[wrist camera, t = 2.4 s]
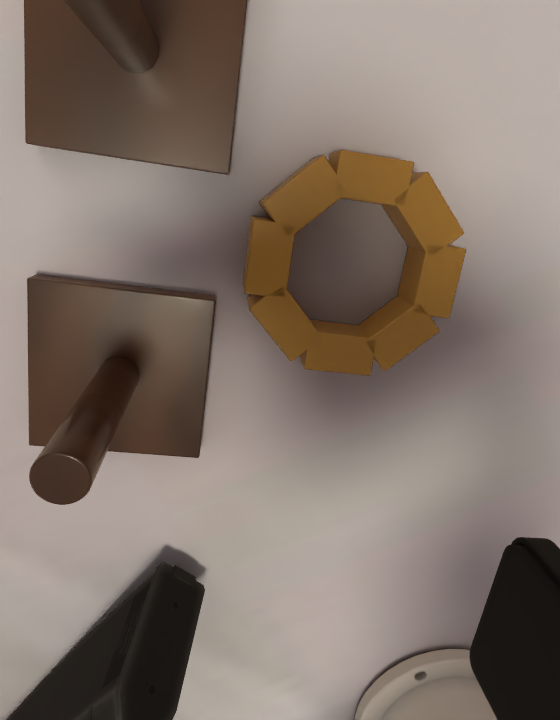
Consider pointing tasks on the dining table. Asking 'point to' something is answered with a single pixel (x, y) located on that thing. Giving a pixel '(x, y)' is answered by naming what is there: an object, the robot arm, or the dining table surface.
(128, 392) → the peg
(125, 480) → the dining table surface
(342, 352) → the ring
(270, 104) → the dining table surface
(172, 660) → the magazine
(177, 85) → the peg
